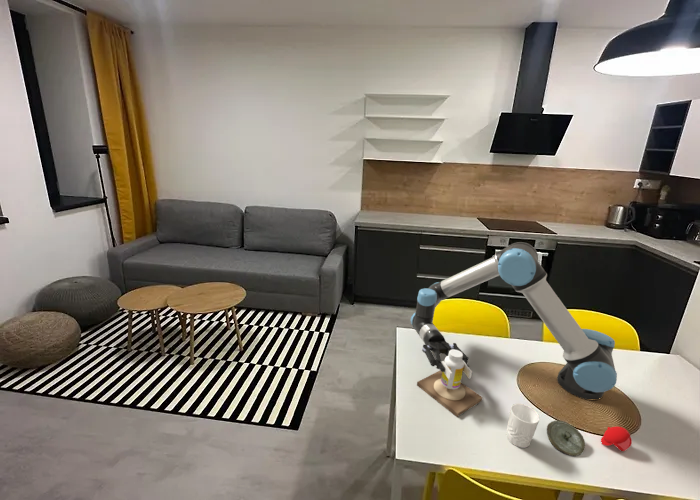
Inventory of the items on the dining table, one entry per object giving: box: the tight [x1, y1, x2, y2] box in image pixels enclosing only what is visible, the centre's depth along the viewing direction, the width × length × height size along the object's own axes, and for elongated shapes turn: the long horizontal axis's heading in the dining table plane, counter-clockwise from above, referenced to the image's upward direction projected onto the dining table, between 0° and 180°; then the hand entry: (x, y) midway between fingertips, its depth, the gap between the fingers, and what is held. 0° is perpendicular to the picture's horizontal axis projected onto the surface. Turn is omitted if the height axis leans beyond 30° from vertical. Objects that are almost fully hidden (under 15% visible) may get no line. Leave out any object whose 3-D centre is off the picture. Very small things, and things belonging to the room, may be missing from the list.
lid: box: [546, 420, 586, 457], centre depth 107 cm, size 11×10×5 cm
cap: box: [600, 426, 633, 452], centre depth 108 cm, size 8×6×6 cm
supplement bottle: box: [441, 349, 464, 390], centre depth 123 cm, size 7×7×13 cm
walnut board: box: [416, 369, 483, 418], centre depth 126 cm, size 18×14×2 cm
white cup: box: [505, 403, 541, 449], centre depth 107 cm, size 8×8×10 cm
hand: (460, 375), depth 118 cm, fingers closed on supplement bottle, 7 cm apart
